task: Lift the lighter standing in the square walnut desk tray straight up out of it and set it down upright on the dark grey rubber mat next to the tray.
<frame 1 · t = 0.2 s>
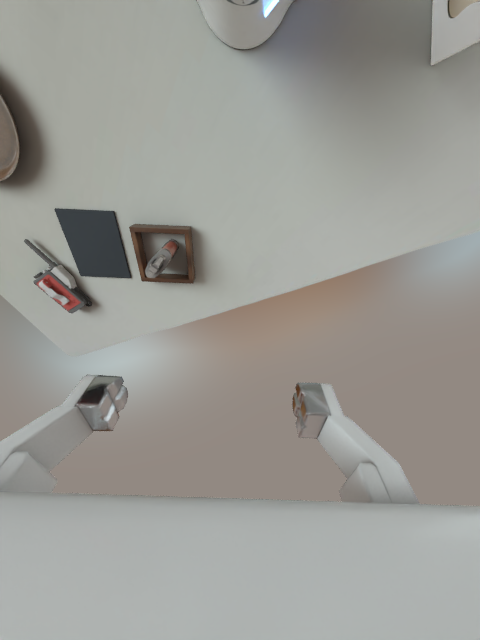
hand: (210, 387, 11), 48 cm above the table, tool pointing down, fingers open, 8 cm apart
lighter: (167, 252, 55), resting in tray
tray: (167, 253, 55), on the table
mat: (96, 245, 55), on the table
walkie-talkie: (58, 277, 60), on the table
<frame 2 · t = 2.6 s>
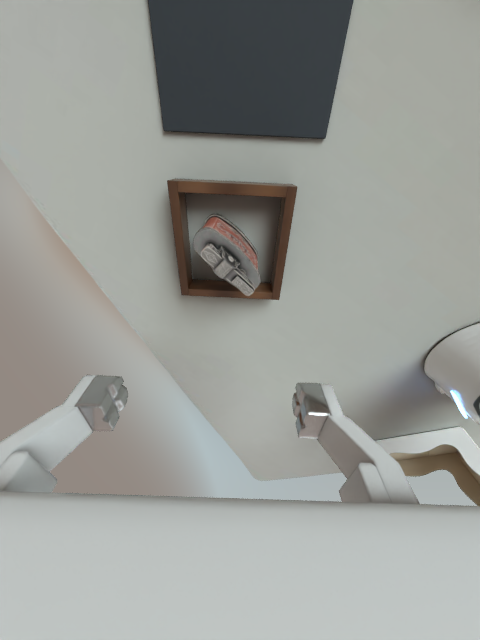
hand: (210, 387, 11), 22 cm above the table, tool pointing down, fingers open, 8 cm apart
lighter: (232, 240, 29), resting in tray
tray: (232, 241, 28), on the table
mat: (248, 34, 19), on the table
gable box: (408, 446, 57), on the table
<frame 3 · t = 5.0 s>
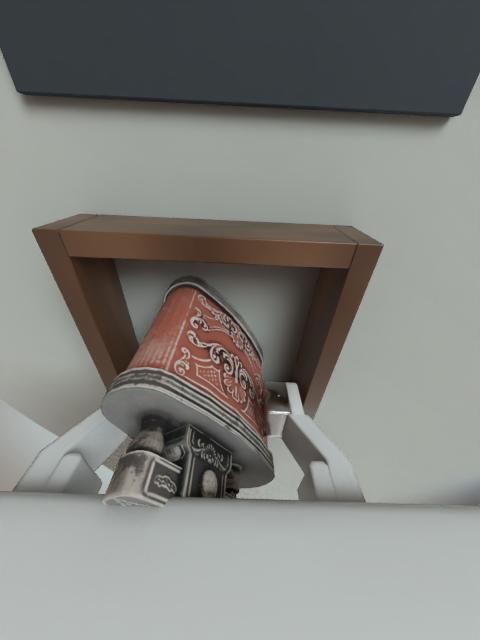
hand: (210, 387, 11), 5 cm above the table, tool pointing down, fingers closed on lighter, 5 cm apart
lighter: (219, 326, 15), resting in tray, touching gripper
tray: (218, 328, 14), on the table
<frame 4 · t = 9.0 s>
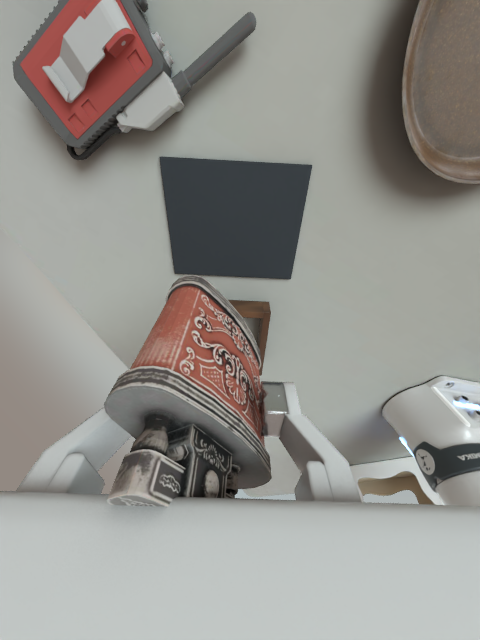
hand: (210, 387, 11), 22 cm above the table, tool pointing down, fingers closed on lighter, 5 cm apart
lighter: (219, 326, 15), point 17 cm above the table, touching gripper
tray: (225, 333, 37), on the table
mat: (234, 225, 27), on the table
walkie-talkie: (138, 65, 20), on the table
gable box: (378, 469, 66), on the table
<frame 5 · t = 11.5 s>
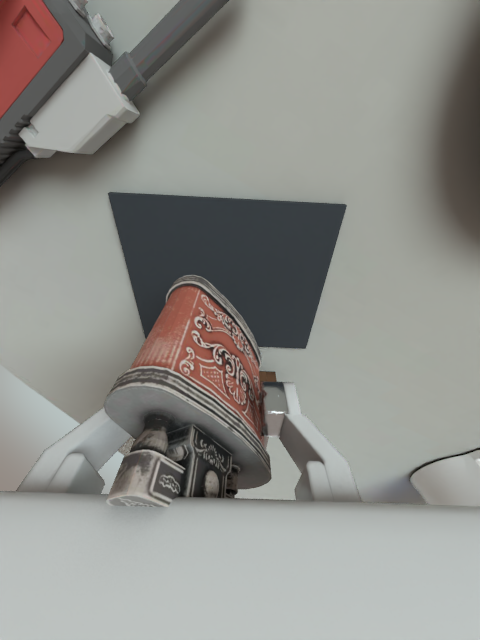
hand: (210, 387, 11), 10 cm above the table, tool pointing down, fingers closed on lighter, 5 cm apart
lighter: (219, 326, 15), point 6 cm above the table, touching gripper
mat: (227, 284, 19), on the table
walkie-talkie: (55, 45, 12), on the table
when the fingers open (5 cm above the table, at t = 13.3 s): lighter stays where it is, resting on mat.
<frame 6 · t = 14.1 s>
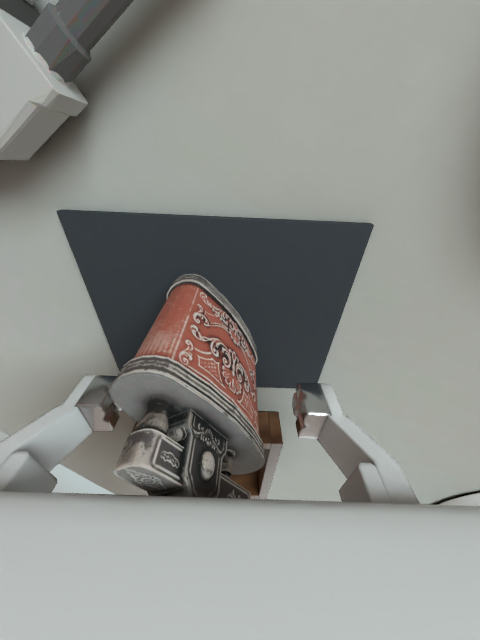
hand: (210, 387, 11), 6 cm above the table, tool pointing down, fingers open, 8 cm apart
lighter: (217, 323, 15), resting on mat
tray: (212, 443, 25), on the table
mat: (219, 319, 15), on the table
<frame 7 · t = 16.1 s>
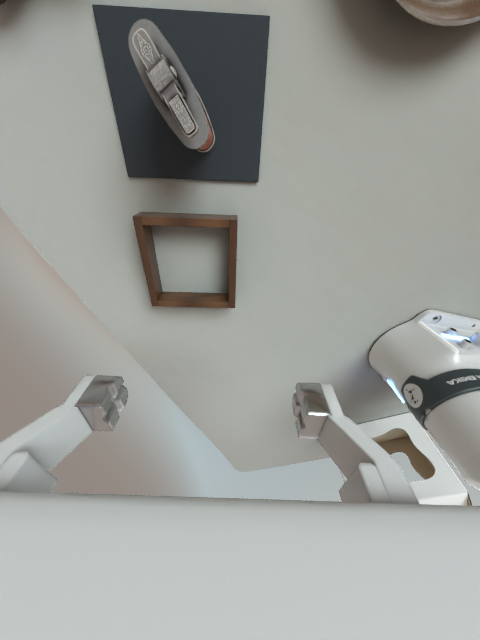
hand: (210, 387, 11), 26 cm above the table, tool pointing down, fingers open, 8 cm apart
lighter: (188, 110, 24), resting on mat
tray: (193, 260, 34), on the table
mat: (189, 108, 24), on the table
gable box: (369, 432, 64), on the table
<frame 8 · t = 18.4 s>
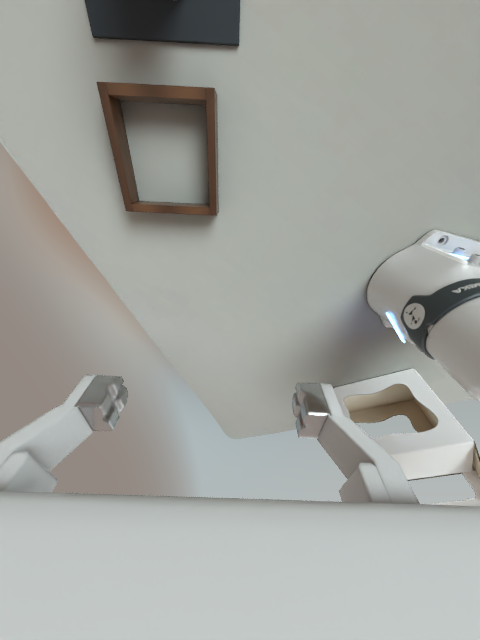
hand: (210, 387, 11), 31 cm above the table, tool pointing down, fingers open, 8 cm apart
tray: (170, 158, 31), on the table
gable box: (368, 393, 60), on the table
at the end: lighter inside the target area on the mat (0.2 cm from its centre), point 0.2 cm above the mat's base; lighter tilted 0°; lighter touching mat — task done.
